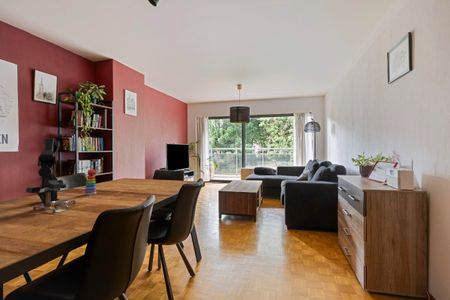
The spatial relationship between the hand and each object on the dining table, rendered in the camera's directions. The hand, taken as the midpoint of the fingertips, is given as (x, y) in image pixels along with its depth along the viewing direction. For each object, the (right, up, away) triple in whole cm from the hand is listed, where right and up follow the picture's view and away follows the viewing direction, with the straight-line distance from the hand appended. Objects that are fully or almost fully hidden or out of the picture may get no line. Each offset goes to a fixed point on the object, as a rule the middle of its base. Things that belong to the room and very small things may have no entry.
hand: (47, 202), depth 137 cm
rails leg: (+4, -3, -3) cm, 6 cm away
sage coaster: (+11, -3, -5) cm, 12 cm away
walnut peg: (0, -2, 0) cm, 2 cm away
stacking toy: (+2, -3, +40) cm, 40 cm away
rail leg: (+2, -3, +5) cm, 6 cm away
